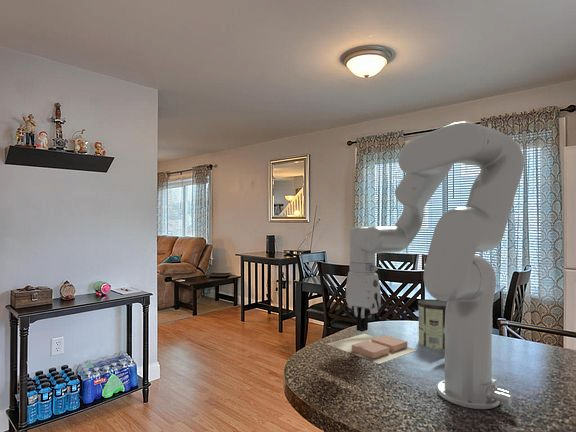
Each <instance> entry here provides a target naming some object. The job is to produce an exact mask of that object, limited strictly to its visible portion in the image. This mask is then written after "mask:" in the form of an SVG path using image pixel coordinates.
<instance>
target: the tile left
mask: <svg viewBox="0 0 576 432" xmlns="http://www.w3.org/2000/svg"><path fill="white" fill-rule="evenodd" d="M352 351H354V352H356V353H359V354H362V355H364V356H367V357H370V358H373V359H375V358H378V357H380V356H383V355H386V354H388V353H389V347H386V346H383V345H380V344H377V343H374V342H371V341H368V340H367V341H363V342H360V343H357V344H353V345H352Z"/></svg>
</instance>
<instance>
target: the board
mask: <svg viewBox="0 0 576 432" xmlns="http://www.w3.org/2000/svg"><path fill="white" fill-rule="evenodd" d="M374 338H377V336H374V335H370V334H367V333H361V334H358V335H354V336H350V337H348V338H344V339H340V340H337V341H332V342H329V343H326V345H327V346H331V347H333V348H335V349H338V350H341V351H344V352H346V353H348V354H349V353H350V354H351V355H354V356H356V357H360V358H362V359H365V360H367V361H370V362H373V363H375V364H378V365H380V364H383V363H387V362H388V361H391V360H394V359H397V358H399V357H402V356H405V355H408V354H410V353H413V352H416V351H417V349H416V348H413V347H409V346H407V347H406V348H404V349H401V350H398V351H395V352H392V351H389V353H388V354H386V355H383V356H380V357H378V358H375V359H373V358H370V357H367V356H364V355H362V354H359V353H356V352H354V351H352V345H353V344H357V343H360V342H363V341H367V340H368V341H371V339H374Z"/></svg>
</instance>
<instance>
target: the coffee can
mask: <svg viewBox="0 0 576 432" xmlns="http://www.w3.org/2000/svg"><path fill="white" fill-rule="evenodd" d="M417 304H418V344H419V345H421V346H423V347H426V348H430V349H436V350H445V310H446V305H447V302H444V301H440V300H437V299H435V298H434V299H430V298H429V299H428V298H427V299H420V300H418V301H417Z"/></svg>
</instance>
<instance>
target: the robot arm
mask: <svg viewBox="0 0 576 432" xmlns="http://www.w3.org/2000/svg"><path fill="white" fill-rule="evenodd" d="M398 154H399V155H398V159H397V162H398V166H399V168H400V169H401V171H402V172H403V173H405V174H404V176H403V177H402V180H401V181H400V182H399V184H398V185H397V187H396V188H395V190H394V196H395V199H396V200H397V201H398V202H399V203H400V204H401V205H402V206H403V208H402V212H401V215H400V216H399V218H398V219H397V221H396V222H395V224H394V225H391V226H389V225H385V226H384V225H382V226H379V225H378V226H377V225H376V226H353V227H352V228H350V229H349V271H348V274H347V278H346V284H345V301H346V303H347V307H348V308H349V309H351V310H352V311H353V312H354V317H355V318H356V331H358V332H360V333H363V332H366V331H368V328H369V318H370V316H371V315H372V314H377V313H378V312H379V309H378V308H379V307H381V305H382V302H381V301H382V296H381V285H380V279H379V275H378V273H376V271H378V269H379V267H378V266H377V265H376V254H387V253H400V252H402V251H404V250H405V249H407V248H408V247H409V246H410V245H411V243H412V242H413V241H414V239H416V236H418V234H419V232H420V231H421V229H422V225H423V222H424V221H423V220H424V216H425V215H424V213H425V212H424V211H425V209H424V208H425V207H426V205H427V203H428V202H429V201H430V199H431V198H432V196H433V195H434V194H435V192H436V190H437V189H438V188H439V187H440V185H441V184H442V183H443V182H444V179H445V178H446V176H447V175H448V174H449V173H450V171H451V169H452V168H453V166H454V164H463V165H464V164H465V165H467V166H468V165H469V166H476V167H478V168H479V169H480V172H479V174H478V175H477V177H475V179H474V181H473V183H472V184H471V188H470V192H469V195H468V199H467V202H466V205H465V206H464V207H463V206H462V207H461V206H460V207H455V208H451V209H449V210H448V211H446V212H444V213H443V215H442V216H440V218H439V219H438V221H437V223H436V224H435V228H434V230H433V233H432V238H431V241H430V245H429V249H428V253H427V255H426V261H425V264H424V269H423V278H422V279H423V283H424V287H425V290H426V291H427V293H428V294H429V295H430V296H431V297H432V298H434V300H440V301H444V302H447V305H446V310H445V349H444V380H442V381H439V382H438V384H437V386H436V387H437V389H436V390H437V392H438V395H439V396H440V397H441V398H442V399H444V400H446V401H448V402H449V403H452V404H455V405H457V406H460V407H463V408H468V409H472V410H473V409H476V410H490V409H491V410H492V409H494V408H496V407H498V406H499V405H500V404H501V403H502V404H505V405H506V406H511V405H512V402H513V396H512V395H511V391H509V390H506V389H502V388H500V387H499V386H497V382H498V381H497V379H495V378H493V376H492V374H493V373H492V371H493V370H492V368H493V365H492V364H493V363H492V362H493V359H492V358H493V355H492V353H493V352H492V350H493V343H492V341H493V340H492V338H493V337H492V336H493V335H492V334H493V333H492V332H493V331H492V330H493V308H494V307H493V306H494V300H495V299H494V298H495V293H496V288H497V276H496V273H495V269H494V267H493V265H492V264H491V263H490V262H489V261H488V260H487V259H485V258H483V257H482V256H479V255H476V253H482V252H488V251H492V250H494V249H496V248H497V247H498V246H499V245H500V244H501V243H502V241H503V239H504V235H505V232H506V228H507V225H508V222H509V218H510V215H511V212H512V208H513V205H514V200H515V196H516V194H517V191H518V187H519V184H520V183H521V179H522V176H523V171H524V168H525V167H524V166H525V165H524V164H525V157H524V154H523V151H522V149H521V147H520V145H519V144H518V142H516V141H515V140H514V139H513V138H512V137H510V136H509V135H508V134H505V133H504V132H501V131H499V130H498V129H497V130H496V129H494V128H492V127H487V126H484V125H480V124H477V123H475V122H474V123H473V122H471V121H458V122H453V123H450V124H448V125H445V126H443V127H439V128H437V129H435V130H432V131H430V132H428V133H425V134H423V135H420V136H418V137H415V138H413V139H412V140H409V142H407V143H406V144H405V145H404V146H403V147H402V149H401V150H400V152H399V153H398Z"/></svg>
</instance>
